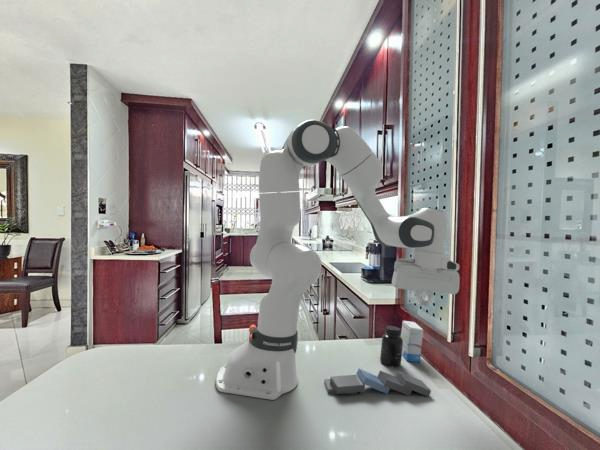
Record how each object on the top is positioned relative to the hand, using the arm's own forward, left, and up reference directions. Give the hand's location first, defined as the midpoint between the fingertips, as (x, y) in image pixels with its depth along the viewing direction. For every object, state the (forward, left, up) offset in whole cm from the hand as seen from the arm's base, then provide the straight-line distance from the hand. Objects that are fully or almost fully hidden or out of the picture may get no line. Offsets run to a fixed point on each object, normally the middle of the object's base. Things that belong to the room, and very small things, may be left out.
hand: (422, 305), depth 90 cm
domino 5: (-1, -7, -22) cm, 23 cm away
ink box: (+5, +15, -23) cm, 28 cm away
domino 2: (-20, -8, -21) cm, 30 cm away
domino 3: (-13, -7, -22) cm, 26 cm away
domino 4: (-6, -7, -22) cm, 24 cm away
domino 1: (-22, -7, -23) cm, 32 cm away
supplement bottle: (-4, +10, -23) cm, 25 cm away
